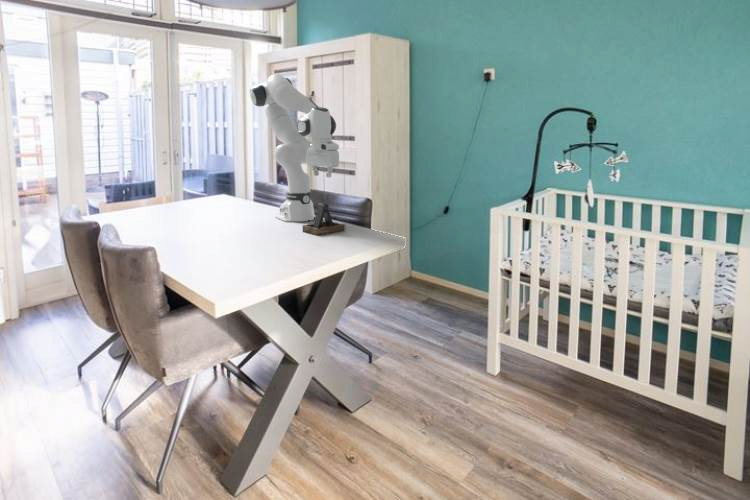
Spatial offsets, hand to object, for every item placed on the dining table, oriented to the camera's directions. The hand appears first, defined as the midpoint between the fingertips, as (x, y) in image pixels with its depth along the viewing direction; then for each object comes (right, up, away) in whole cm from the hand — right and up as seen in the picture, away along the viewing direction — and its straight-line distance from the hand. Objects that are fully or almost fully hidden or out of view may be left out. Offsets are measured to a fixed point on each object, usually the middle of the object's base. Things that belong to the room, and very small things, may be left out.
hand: (322, 176), depth 236 cm
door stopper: (0, -24, +6) cm, 24 cm away
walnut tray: (0, -25, +6) cm, 25 cm away
